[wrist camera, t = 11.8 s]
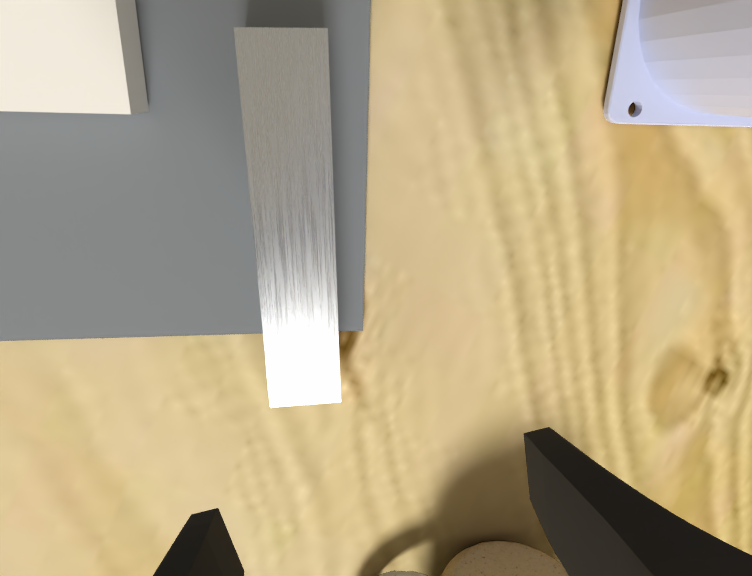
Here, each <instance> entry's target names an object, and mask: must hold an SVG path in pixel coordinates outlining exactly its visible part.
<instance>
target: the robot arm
mask: <svg viewBox="0 0 752 576" xmlns="http://www.w3.org/2000/svg"><path fill="white" fill-rule="evenodd" d="M633 102H634V104H635V111H634V113H633V114H632V115H631V116H630V115H629V114H628V108H629V106H630V105H631V104H632V103H633ZM603 114H604V116H605V119H606V120H607V121H609V122H611V123H617V124H650V125H690V126H730V127H752V0H623V3H622V9H621V14H620V20H619V25H618V31H617V36H616V42H615V47H614V53H613V59H612V64H611V70H610V75H609V81H608V86H607V92H606V97H605V103H604V108H603ZM524 442H525V452H526V462H527V473H528V483H529V493H530V500H531V502H532V505H533V507H534V509H535V512H536V514H537V516H538V518H539V521H540V523H541V525H542V527H543V530H544V532H545V534H546V536H547V538H548V540H549V542H550V544H551V546H552V548H553V549H554V551H555V553H556V555H557V556H558V558H559V560H560V562H561V563H562V565H563V567H564V568H565V570H566V572H567V574H568V575H569V576H752V555H750V554H748V553H745V552H743V551H741V550H739V549H737V548H735V547H733V546H731V545H729V544H727V543H725V542H723V541H722V540H720V539H718V538H716V537H714V536H712V535H710V534H709V533H707V532H705V531H703V530H701V529H699V528H697V527H696V526H694V525H692V524H690V523H688V522H687V521H685V520H683V519H681V518H680V517H678V516H676V515H675V514H673V513H671V512H670V511H668V510H667V509H665V508H663V507H662V506H660V505H658V504H657V503H655V502H654V501H652V500H650V499H649V498H647V497H646V496H644V495H643V494H641V493H640V492H638V491H637V490H635V489H634V488H632V487H631V486H629V485H628V484H626V483H625V482H623V481H622V480H621V479H619V478H618V477H616V476H615V475H613V474H612V473H610V472H609V471H607V470H606V469H605V468H603V467H602V466H601V465H599V464H598V463H596V462H595V461H594V460H592V459H591V458H590V457H588V456H587V455H586V454H584V453H583V452H581V451H580V450H579V449H578V448H576V447H575V446H574V445H572V444H571V443H570V442H568V441H567V440H566V439H564V438H563V437H562V436H560V435H559V434H558V433H556V432H555V431H554V430H552V429H551V428H549V427H548V428H544V429H539V430H535V431H531V432H527V433H524ZM153 576H244V569H243V567H242V564H241V562H240V560H239V557H238V555H237V552H236V550H235V548H234V545H233V543H232V540H231V538H230V536H229V533H228V531H227V528H226V526H225V523H224V521H223V519H222V516H221V514H220V511H219V509H218V508H216V509H212V510H208V511H204V512H200V513H196V514H192V515H191V516H190V518H189V519H188V521H187V522H186V524H185V525H184V527H183V528H182V530H181V532H180V533H179V535H178V536H177V538H176V540H175V541H174V543H173V544H172V546H171V548H170V549H169V551H168V552H167V554H166V556H165V557H164V559H163V560H162V562H161V564H160V565H159V567H158V568H157V570H156V572H155V573H154V575H153Z"/></svg>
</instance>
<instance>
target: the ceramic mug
mask: <svg viewBox="0 0 752 576" xmlns="http://www.w3.org/2000/svg"><path fill="white" fill-rule="evenodd" d="M379 576H427V575H426V574H422V573H418V572H414V571H407V572H406V571H397V572H396V571H390V572H386V573H383V574H381V575H379ZM441 576H569V575H568V574H567V572H566V570H565V568H564V567H563V566H562V565H561V564H560V563H559V562H558V561H556V560H555V559H554V558H552V557H550V556H549V555H547V554H545V553H544V552H542V551H539V550H537V549H534V548H532V547H529V546H527V545H524V544H520V543H516V542H506V541H492V542H482V543H480V544H477V545H474V546H471V547H469V548H466V549H464V550H463V551H461V552H460V553H458V554H457V555H456V556H455V557H454V558H453V559H452V560H451V561H450V562H449V563H448V564H447V566H446V567H445V569H444V571H443V573H442V575H441Z"/></svg>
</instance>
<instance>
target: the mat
mask: <svg viewBox="0 0 752 576" xmlns="http://www.w3.org/2000/svg"><path fill="white" fill-rule="evenodd" d="M135 4H136V12H137V20H138V28H139V36H140V44H141V52H142V60H143V69H144V77H145V85H146V93H147V101H148V109H149V112H143V113H136V114H94V113H53V112H12V111H0V341H16V340H51V339H85V338H120V337H155V336H190V335H225V334H259V333H263V329H262V318H261V308H260V297H259V287H258V276H257V266H256V255H255V245H254V235H253V224H252V214H251V203H250V193H249V182H248V172H247V161H246V151H245V141H244V130H243V120H242V109H241V99H240V88H239V78H238V67H237V57H236V47H235V36H234V27H269V28H328V48H329V77H330V105H331V134H332V162H333V190H334V219H335V247H336V276H337V304H338V331H363V305H364V262H365V219H366V177H367V134H368V91H369V48H370V5H371V0H135Z"/></svg>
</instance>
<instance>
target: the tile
mask: <svg viewBox="0 0 752 576" xmlns="http://www.w3.org/2000/svg"><path fill="white" fill-rule="evenodd" d="M0 111H12V112H53V113H94V114H136V113H143V112H149V109H148V101H147V93H146V85H145V77H144V69H143V60H142V52H141V44H140V36H139V28H138V20H137V12H136V4H135V0H0Z"/></svg>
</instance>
